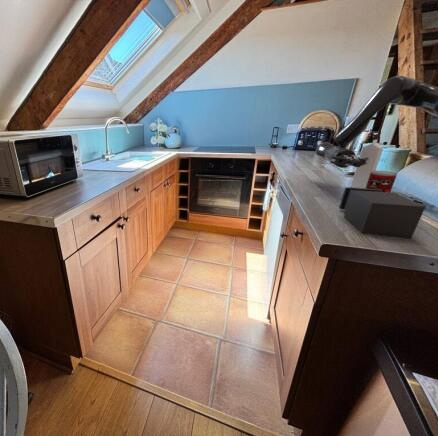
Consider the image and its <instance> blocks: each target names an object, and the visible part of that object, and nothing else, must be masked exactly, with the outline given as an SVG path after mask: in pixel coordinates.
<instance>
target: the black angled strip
mask: <svg viewBox="0 0 438 436" xmlns="http://www.w3.org/2000/svg"><path fill="white" fill-rule="evenodd" d="M352 190H358V191H374V192H382V191H383V190H381V189H364V188H354V187H344V190H343V193H342V196H341V200H340V203H339V206H338V209H340V210H344V211H345V212H346V209H347V205H348V202H349V199H350V196H351V193H352Z"/></svg>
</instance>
